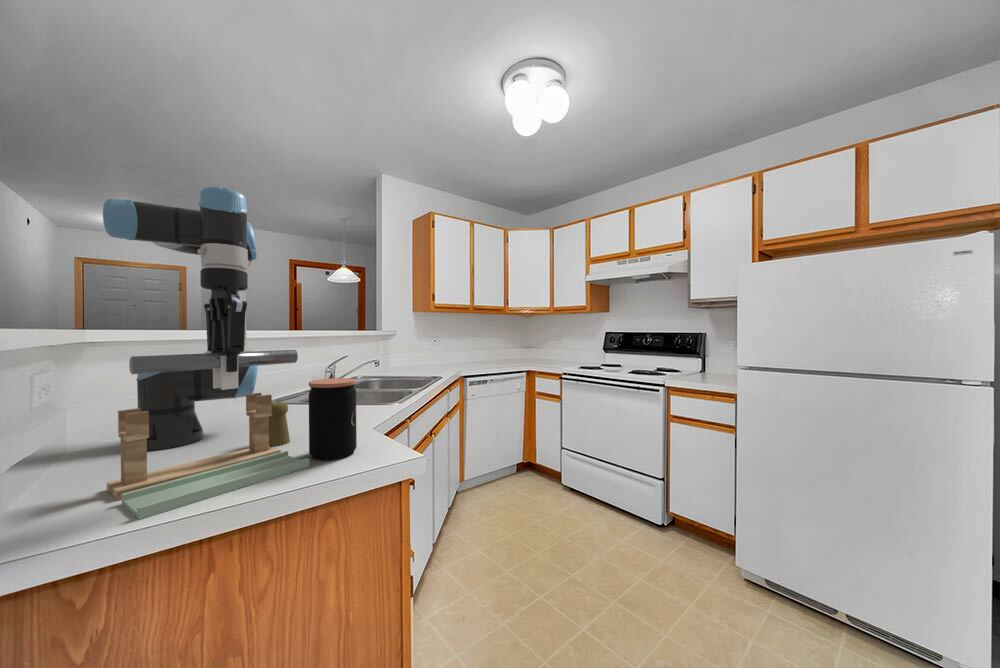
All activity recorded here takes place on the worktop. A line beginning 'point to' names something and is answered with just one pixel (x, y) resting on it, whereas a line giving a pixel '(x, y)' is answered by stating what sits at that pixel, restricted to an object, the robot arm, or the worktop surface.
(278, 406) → the olive green shaker
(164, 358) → the rail
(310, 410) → the coffee jar
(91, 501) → the worktop surface
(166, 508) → the tray
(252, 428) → the rail rack
